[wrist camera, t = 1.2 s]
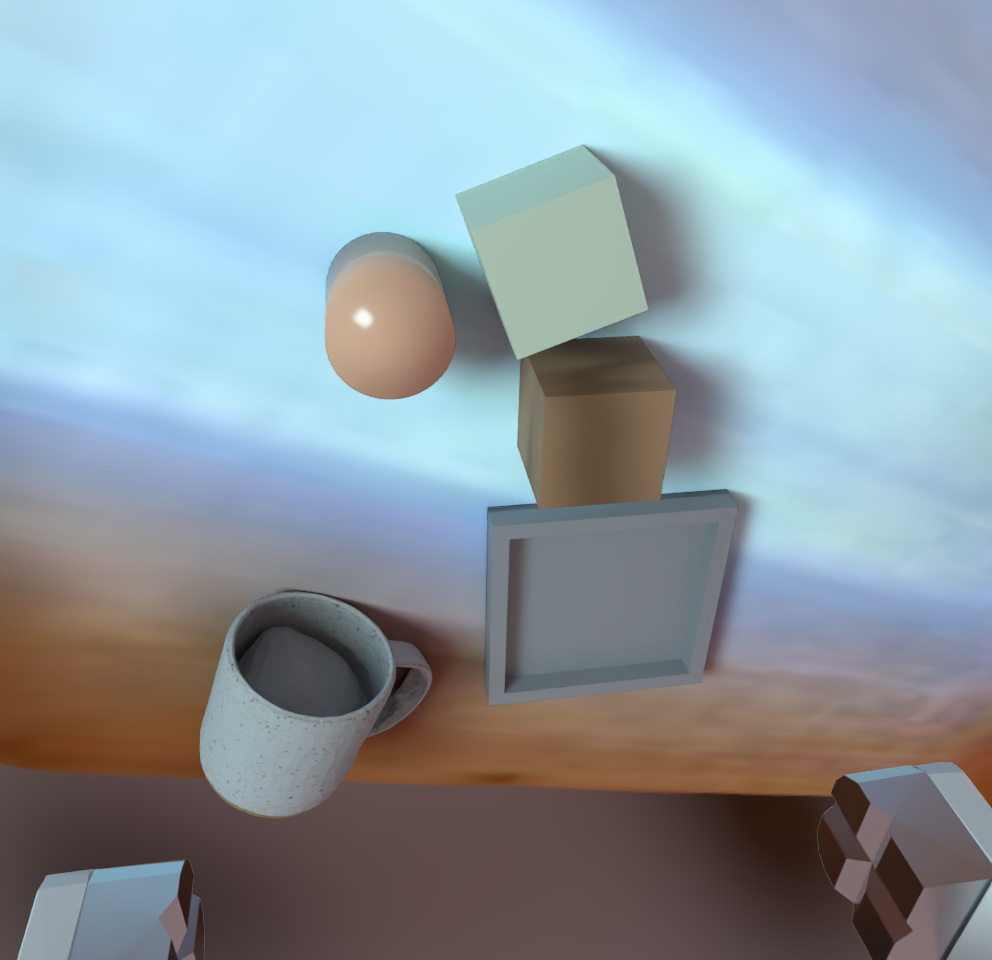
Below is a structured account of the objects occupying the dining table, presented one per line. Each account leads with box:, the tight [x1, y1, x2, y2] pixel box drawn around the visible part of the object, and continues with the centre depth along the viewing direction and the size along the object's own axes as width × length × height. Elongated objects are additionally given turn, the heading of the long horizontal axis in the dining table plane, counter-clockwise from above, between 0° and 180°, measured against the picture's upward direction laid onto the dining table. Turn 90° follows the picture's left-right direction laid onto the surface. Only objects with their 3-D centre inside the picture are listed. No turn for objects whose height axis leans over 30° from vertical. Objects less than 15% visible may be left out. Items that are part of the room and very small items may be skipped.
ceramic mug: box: [200, 591, 432, 818], centre depth 40 cm, size 11×8×8 cm
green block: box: [455, 145, 648, 360], centre depth 31 cm, size 5×5×4 cm
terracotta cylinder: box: [325, 232, 456, 399], centre depth 31 cm, size 4×4×5 cm
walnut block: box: [517, 336, 677, 509], centre depth 35 cm, size 5×5×5 cm
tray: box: [485, 489, 738, 706], centre depth 43 cm, size 12×12×2 cm
